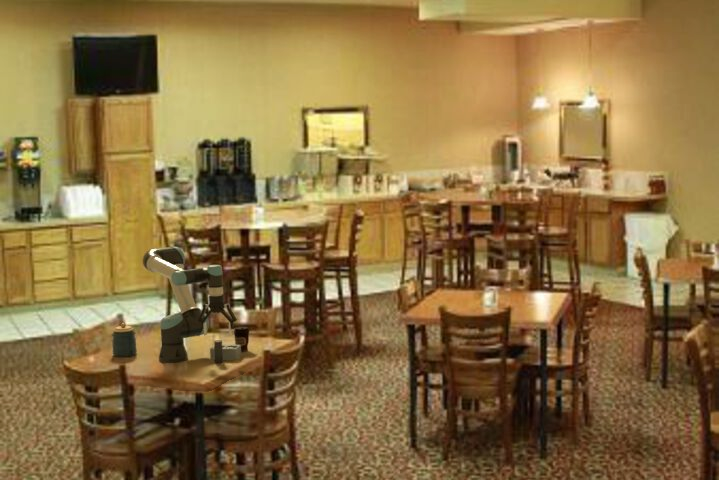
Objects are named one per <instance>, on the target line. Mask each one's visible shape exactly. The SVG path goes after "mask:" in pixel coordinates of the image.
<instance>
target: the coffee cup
mask: <svg viewBox="0 0 719 480" xmlns="http://www.w3.org/2000/svg"><path fill="white" fill-rule="evenodd" d="M233 334H234V343H235V344H234V345H241V353H245V352H249V348H248V346H249V340H250V339H249V335H250V329H249V327H248V326H240V327H235V328H234V330H233Z"/></svg>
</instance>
